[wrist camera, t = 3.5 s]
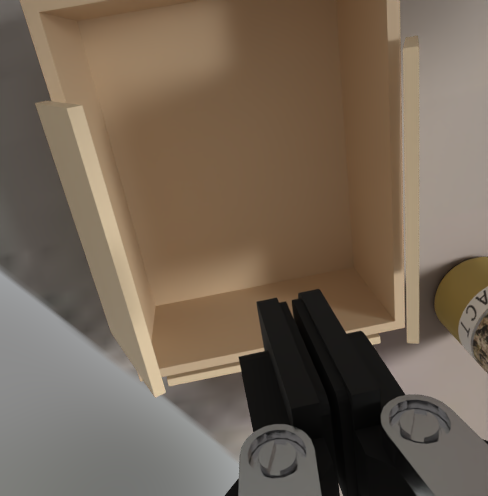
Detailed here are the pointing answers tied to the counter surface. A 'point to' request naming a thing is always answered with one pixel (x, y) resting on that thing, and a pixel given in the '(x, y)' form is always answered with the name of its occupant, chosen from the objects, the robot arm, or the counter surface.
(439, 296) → the paper tube
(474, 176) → the counter surface
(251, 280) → the carton
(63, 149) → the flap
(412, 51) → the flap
